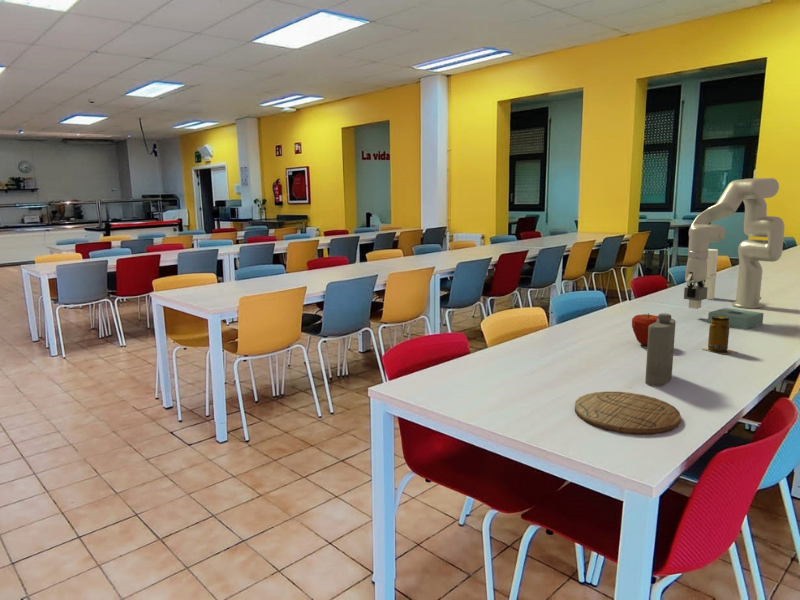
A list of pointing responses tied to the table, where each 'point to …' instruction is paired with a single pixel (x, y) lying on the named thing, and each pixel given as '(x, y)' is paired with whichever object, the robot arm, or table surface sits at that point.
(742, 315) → the socket
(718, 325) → the condiment
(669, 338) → the flask
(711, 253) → the cylindrical container
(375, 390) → the table surface
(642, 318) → the apple
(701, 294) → the plug
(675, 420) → the trivet
